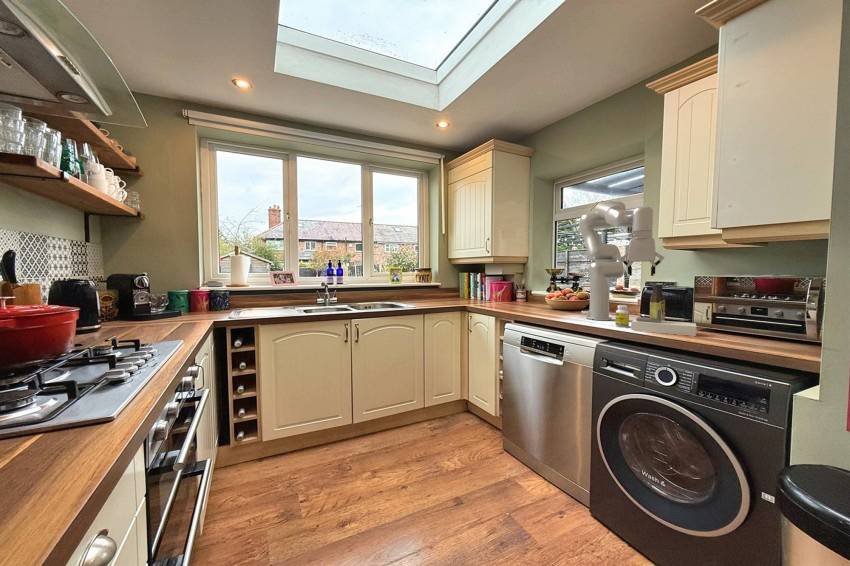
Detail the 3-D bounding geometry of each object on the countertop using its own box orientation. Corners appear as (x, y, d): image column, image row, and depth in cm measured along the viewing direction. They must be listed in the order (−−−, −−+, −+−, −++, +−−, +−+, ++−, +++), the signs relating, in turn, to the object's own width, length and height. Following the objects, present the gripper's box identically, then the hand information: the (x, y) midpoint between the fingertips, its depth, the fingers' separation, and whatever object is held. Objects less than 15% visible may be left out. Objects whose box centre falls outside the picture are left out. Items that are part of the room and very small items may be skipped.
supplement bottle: (612, 326, 161) (613, 305, 161) (620, 325, 163) (621, 305, 163) (623, 327, 156) (624, 306, 156) (631, 327, 158) (632, 306, 158)
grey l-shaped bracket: (636, 320, 149) (636, 309, 149) (638, 318, 155) (638, 308, 155) (661, 322, 143) (661, 311, 143) (662, 320, 149) (662, 309, 149)
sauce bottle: (664, 324, 167) (665, 284, 166) (648, 323, 171) (649, 283, 170) (664, 323, 172) (665, 284, 172) (649, 322, 176) (650, 283, 175)
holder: (631, 330, 148) (631, 321, 148) (634, 327, 158) (635, 318, 157) (695, 336, 135) (696, 326, 134) (695, 332, 144) (695, 323, 144)
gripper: (618, 236, 153) (617, 275, 153) (665, 233, 142) (664, 276, 142) (620, 237, 159) (620, 275, 159) (666, 235, 148) (665, 276, 148)
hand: (641, 275), depth 151 cm, fingers open, 7 cm apart
